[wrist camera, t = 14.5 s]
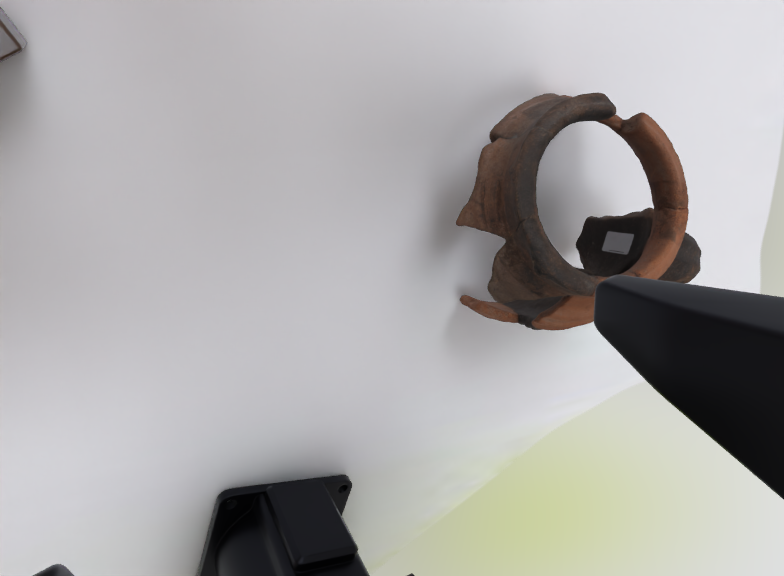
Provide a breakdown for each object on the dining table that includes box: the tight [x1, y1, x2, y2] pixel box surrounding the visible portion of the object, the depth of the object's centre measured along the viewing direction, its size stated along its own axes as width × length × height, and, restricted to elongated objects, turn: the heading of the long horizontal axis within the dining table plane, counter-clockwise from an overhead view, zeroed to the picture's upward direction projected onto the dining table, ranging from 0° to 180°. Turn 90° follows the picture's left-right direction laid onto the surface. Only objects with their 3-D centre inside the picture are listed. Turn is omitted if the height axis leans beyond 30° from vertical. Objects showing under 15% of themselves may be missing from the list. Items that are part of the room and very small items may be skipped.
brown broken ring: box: [456, 93, 701, 330], centre depth 23 cm, size 12×10×8 cm
